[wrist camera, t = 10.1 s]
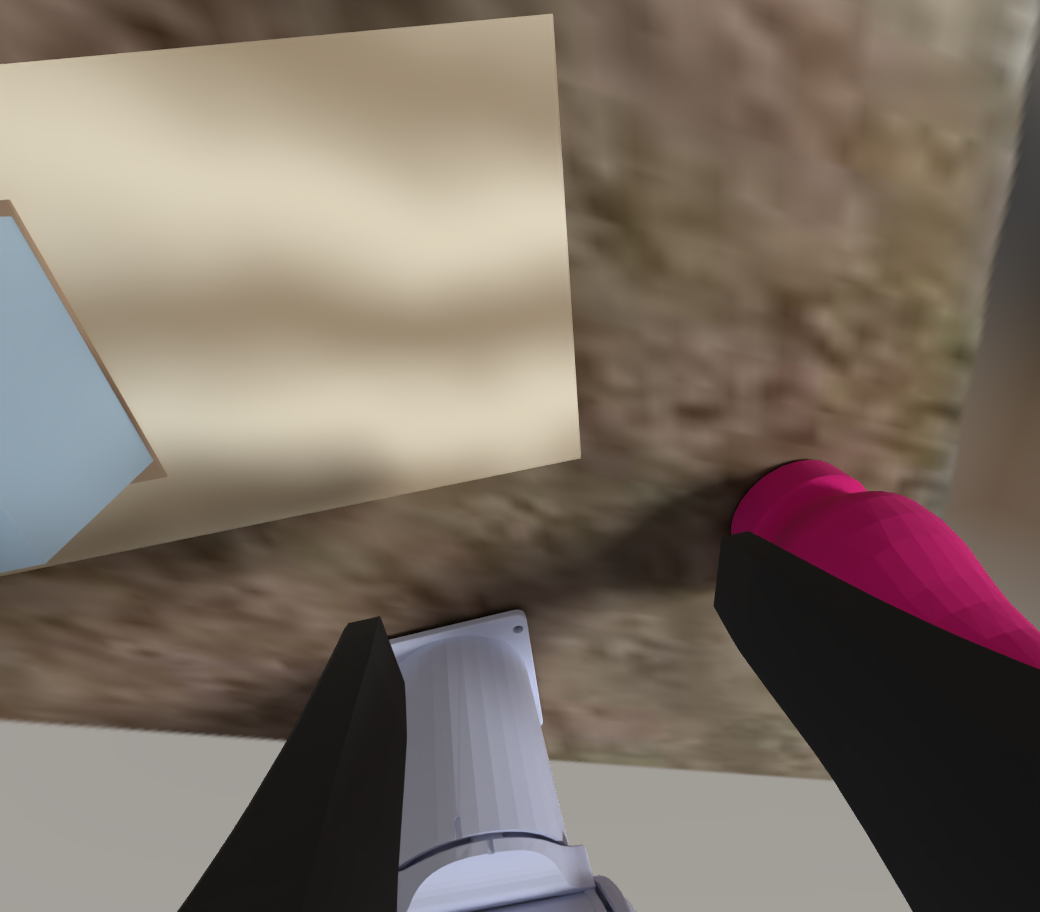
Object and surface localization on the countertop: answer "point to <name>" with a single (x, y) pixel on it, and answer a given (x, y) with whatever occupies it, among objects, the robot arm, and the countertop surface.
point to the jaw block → (52, 418)
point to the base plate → (305, 263)
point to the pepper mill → (885, 552)
